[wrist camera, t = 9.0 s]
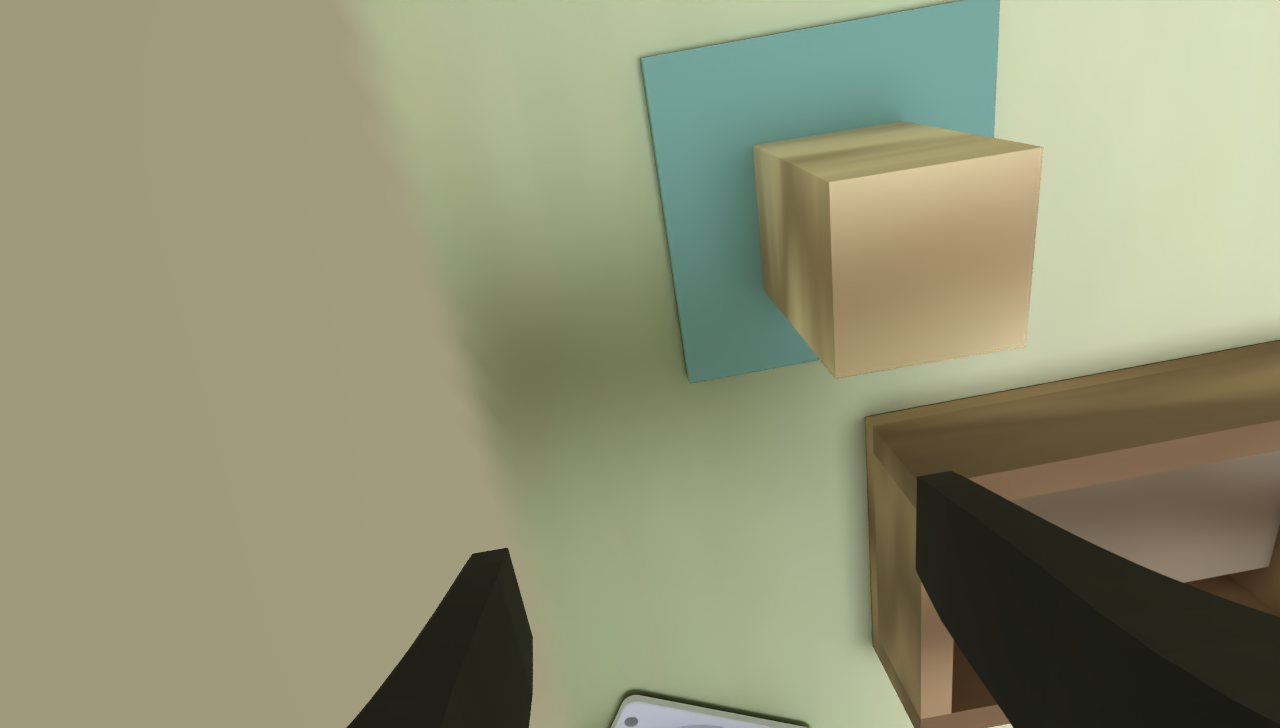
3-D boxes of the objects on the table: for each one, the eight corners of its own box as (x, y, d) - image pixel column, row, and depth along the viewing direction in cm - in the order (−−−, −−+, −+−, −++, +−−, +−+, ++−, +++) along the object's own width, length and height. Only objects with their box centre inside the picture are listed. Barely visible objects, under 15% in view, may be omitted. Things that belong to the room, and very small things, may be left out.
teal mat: (976, 323, 21) (985, 328, 21) (687, 376, 21) (690, 383, 21) (989, -5, 18) (1000, -7, 17) (640, 58, 18) (642, 58, 17)
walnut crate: (1232, 578, 27) (1337, 660, 23) (873, 646, 26) (920, 740, 23) (1290, 338, 22) (1428, 392, 19) (865, 417, 22) (922, 487, 19)
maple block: (901, 267, 20) (1025, 346, 14) (763, 290, 20) (835, 378, 14) (903, 121, 18) (1043, 147, 13) (752, 145, 18) (829, 182, 13)
